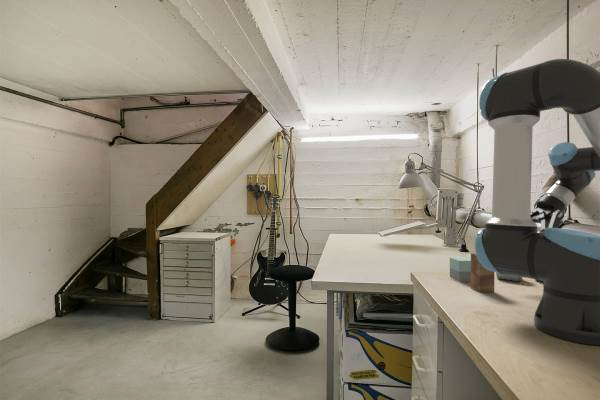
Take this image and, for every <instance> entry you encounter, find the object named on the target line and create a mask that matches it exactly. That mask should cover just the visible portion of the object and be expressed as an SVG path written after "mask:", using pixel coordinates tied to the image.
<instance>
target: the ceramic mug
mask: <svg viewBox="0 0 600 400" xmlns="http://www.w3.org/2000/svg"><path fill="white" fill-rule="evenodd" d="M495 273H496V276H495V277H496V278H497V279H499V280H504V279H505V281H511V280H512V281H511V282H520V281H523V277H519V276H514V275H508V274H500V273H498V272H495Z"/></svg>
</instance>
